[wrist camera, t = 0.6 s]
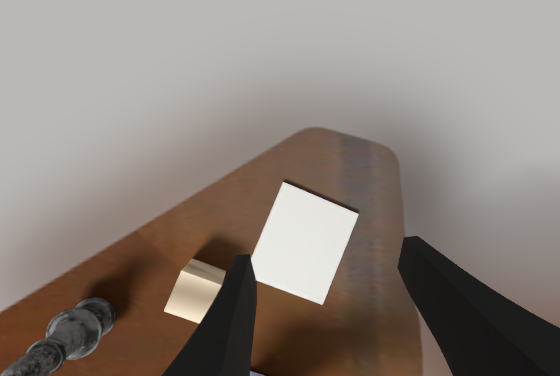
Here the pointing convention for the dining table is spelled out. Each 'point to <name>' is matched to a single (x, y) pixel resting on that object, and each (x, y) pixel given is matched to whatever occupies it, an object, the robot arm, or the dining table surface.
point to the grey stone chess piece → (66, 338)
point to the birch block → (195, 290)
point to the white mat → (302, 243)
